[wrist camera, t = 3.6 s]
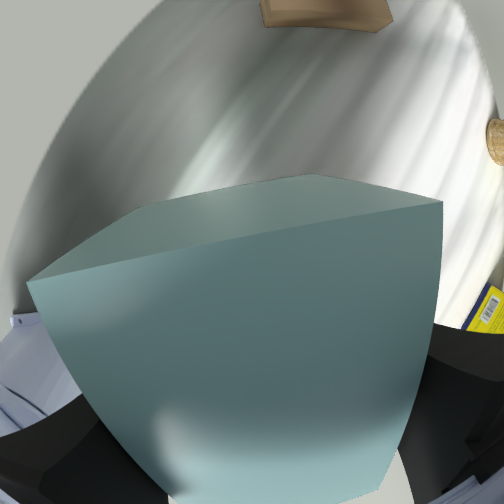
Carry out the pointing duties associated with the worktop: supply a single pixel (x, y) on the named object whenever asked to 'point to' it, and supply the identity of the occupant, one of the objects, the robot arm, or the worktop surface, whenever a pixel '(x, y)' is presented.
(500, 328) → the supplement box
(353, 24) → the strip
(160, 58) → the worktop surface
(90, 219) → the worktop surface
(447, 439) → the robot arm
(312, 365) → the pale mint block
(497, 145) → the sprinkles bottle
